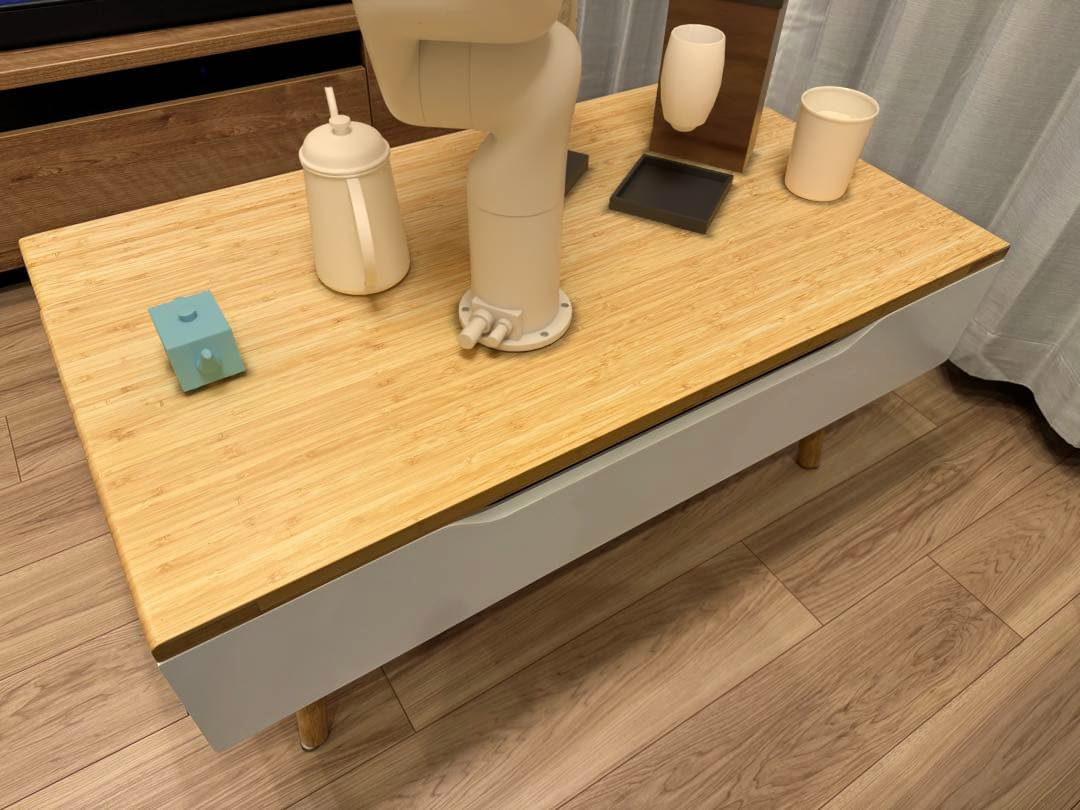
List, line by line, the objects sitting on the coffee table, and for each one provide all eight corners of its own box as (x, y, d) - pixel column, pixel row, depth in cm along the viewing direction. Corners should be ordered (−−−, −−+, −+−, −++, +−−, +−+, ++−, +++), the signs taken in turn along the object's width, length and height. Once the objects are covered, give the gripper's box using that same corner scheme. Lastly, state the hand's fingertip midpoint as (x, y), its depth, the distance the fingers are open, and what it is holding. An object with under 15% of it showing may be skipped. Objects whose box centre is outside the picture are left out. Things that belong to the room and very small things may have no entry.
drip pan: (705, 234, 99) (707, 222, 98) (608, 209, 103) (609, 197, 102) (731, 186, 108) (734, 174, 106) (641, 164, 111) (642, 153, 110)
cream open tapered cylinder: (807, 211, 104) (834, 125, 95) (764, 176, 110) (785, 92, 101) (865, 196, 107) (896, 112, 98) (820, 163, 113) (845, 81, 104)
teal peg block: (258, 397, 77) (239, 339, 72) (196, 420, 75) (171, 362, 69) (222, 329, 84) (202, 272, 79) (164, 348, 82) (139, 291, 76)
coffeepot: (391, 207, 102) (372, 61, 88) (430, 325, 85) (415, 168, 72) (306, 219, 99) (274, 71, 86) (330, 343, 83) (294, 184, 69)
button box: (553, 209, 102) (555, 182, 100) (486, 191, 105) (485, 164, 102) (588, 169, 110) (590, 142, 107) (524, 153, 113) (524, 127, 110)
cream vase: (654, 210, 102) (678, 47, 87) (638, 182, 107) (658, 24, 92) (707, 205, 103) (739, 44, 88) (688, 178, 108) (716, 21, 93)
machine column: (743, 174, 110) (784, -5, 93) (647, 151, 114) (670, -25, 97) (753, 154, 114) (795, -21, 98) (660, 133, 118) (685, -39, 101)
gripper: (548, -34, 81) (542, 135, 94) (600, -67, 91) (589, 90, 103) (483, -44, 83) (487, 123, 96) (541, -75, 93) (537, 80, 105)
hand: (540, 105), depth 99 cm, fingers closed
